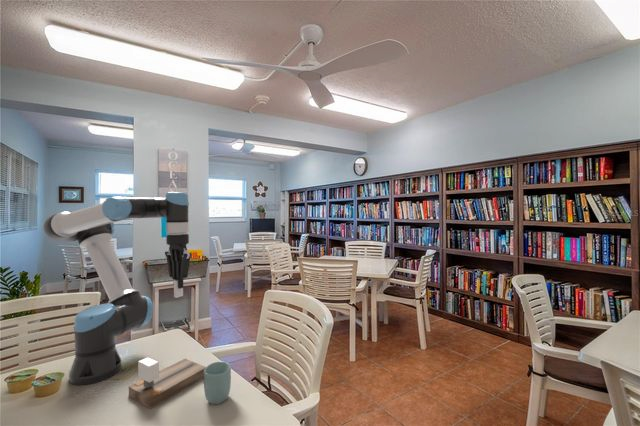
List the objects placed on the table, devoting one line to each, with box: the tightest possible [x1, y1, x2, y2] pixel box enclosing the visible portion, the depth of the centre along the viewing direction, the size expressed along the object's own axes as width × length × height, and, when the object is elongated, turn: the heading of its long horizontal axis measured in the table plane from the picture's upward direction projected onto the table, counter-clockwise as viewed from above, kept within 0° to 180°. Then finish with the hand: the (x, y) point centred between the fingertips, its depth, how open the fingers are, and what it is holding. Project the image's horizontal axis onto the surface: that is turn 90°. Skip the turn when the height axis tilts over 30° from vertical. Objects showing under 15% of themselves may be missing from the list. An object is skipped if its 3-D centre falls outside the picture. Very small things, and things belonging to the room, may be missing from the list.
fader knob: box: [137, 357, 160, 388], centre depth 94 cm, size 6×3×8 cm, turn 59°
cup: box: [203, 361, 232, 405], centre depth 92 cm, size 8×8×10 cm
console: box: [128, 358, 207, 409], centre depth 100 cm, size 12×20×3 cm, turn 149°
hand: (178, 296), depth 111 cm, fingers closed
